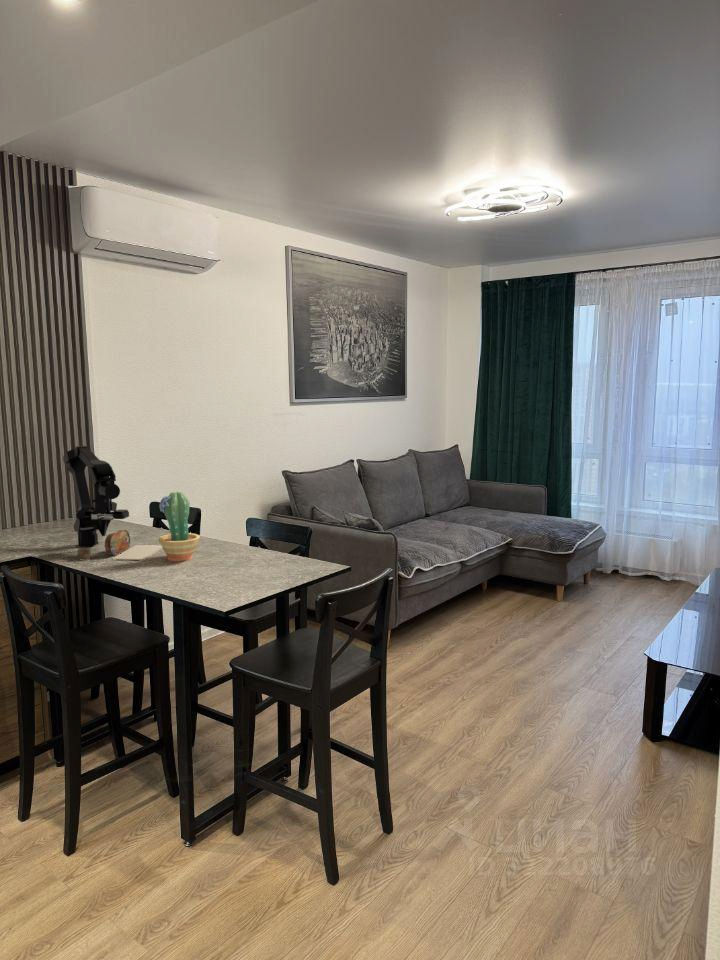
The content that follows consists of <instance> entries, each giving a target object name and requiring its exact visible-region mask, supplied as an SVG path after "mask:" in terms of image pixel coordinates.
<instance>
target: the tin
mask: <svg viewBox="0 0 720 960" xmlns="http://www.w3.org/2000/svg"><path fill="white" fill-rule="evenodd" d="M130 544H131V536H130V533H129V531H128V530H127V529H122V530H121V529H120V530H117V531H115V532H112V533H109V534H108V535H107V536H105V540H104V547H105V548H104V549H105V553H106V554H107V555H108V556H111V555H113V556H114V555H117V554H119V553H122V552H124V551H126V550H128V549H130Z"/></svg>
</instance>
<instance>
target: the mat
mask: <svg viewBox="0 0 720 960" xmlns="http://www.w3.org/2000/svg"><path fill="white" fill-rule="evenodd" d="M159 550H160V551H161V550H163V548H162V545H159V544H158V545H156V544H155V545H152V544H151V545H150V544H148V545H147V544H145V545H144V544H135V545H133V546H132V547H129V548H128V550H126V551H124V552H123V553H121V554H119V555H117V556H113V557H112V558H111V560H112V559H116V560H115V561H130V560H139V561H138V562H140V561H141V562H143V561H145V560H147V559H149V558H150V557H151V556H154V555H155V554H157V553H159V552H160V551H159ZM156 552H157V553H156Z"/></svg>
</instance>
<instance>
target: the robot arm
mask: <svg viewBox="0 0 720 960" xmlns="http://www.w3.org/2000/svg"><path fill="white" fill-rule="evenodd" d="M62 459H63V460H62V461H63V463H64V465H65V468H66V470H67V471H68V472H69V473H70V474H71V476H72V481H73V484H74V489H75V490H74V491H75V493H76V494H75V495H76V498H77V499H76V500H77V503H78V504H77V505H78V510H77V511H76V512H75V521H74V524H73V531H74V532H76V533H77V543H78V544H76V545H75V546H79V547H78V548H82V547H90V548H92V546H93V547H94V545H95V546H97V545H99V544H100V542H99V540H98V537H99V535H98V533H97V531H98V532H99V533H100V535H101V537H106V534H107V531H108V527H109V525H110V523H111V521H112V520H125V519H127V518H129V517H130V512H129V510H128V509H117V508H118V507H117V506H118V503H117V502H114V501H112V500H114V499H117V498H118V497H120V494H121V489H120V487H119V486H118V485H117V484H116V481H117V479H116V473H115V472H114V470H113V467H112V466H111V464H110V463H109V462H107V461H105V460H102V459H100V458H98V457H97V456H96V455H95V454H94V452H92V451H91V449H90V447H89V446H87V445H81V446H80V445H78V446H75V447H74V448H73V449H70V450H68V451H66V452H65V453H64V454H63V456H62ZM86 467H88V474H89V477H91V480H92V481H91V483H92V485H93V486H92V487H93V489H92V490H93V499H92V500H91V495H90V492H89V487H88V482H87V477H86V473H85V469H86ZM92 503H93V504H92ZM98 543H99V544H98ZM96 544H97V545H96Z"/></svg>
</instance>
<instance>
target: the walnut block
mask: <svg viewBox="0 0 720 960" xmlns="http://www.w3.org/2000/svg"><path fill="white" fill-rule="evenodd" d="M91 556H92V554H91V547H78V548H77V561H81V560H80V559H91V558H92V557H91ZM90 557H91V558H90Z"/></svg>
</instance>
